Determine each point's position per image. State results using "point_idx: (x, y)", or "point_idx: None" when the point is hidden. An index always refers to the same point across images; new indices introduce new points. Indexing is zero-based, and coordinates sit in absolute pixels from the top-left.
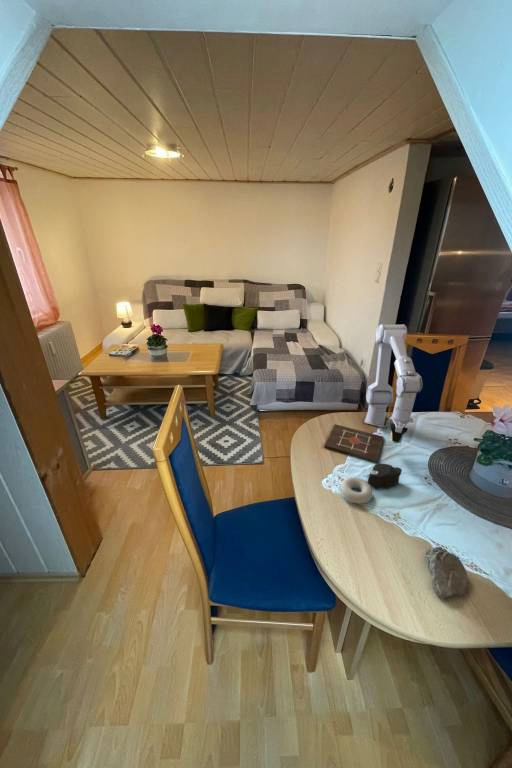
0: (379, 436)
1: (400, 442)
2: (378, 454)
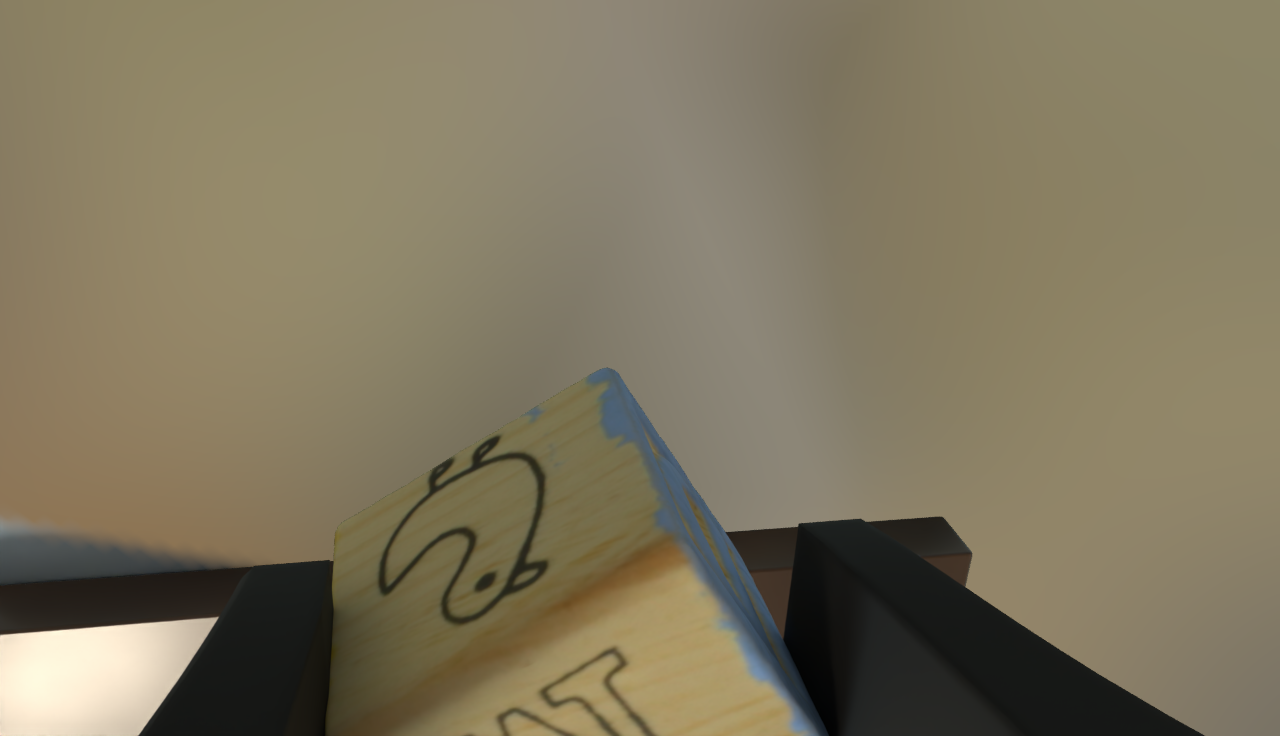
0: (20, 713)
1: (628, 390)
2: (776, 583)
